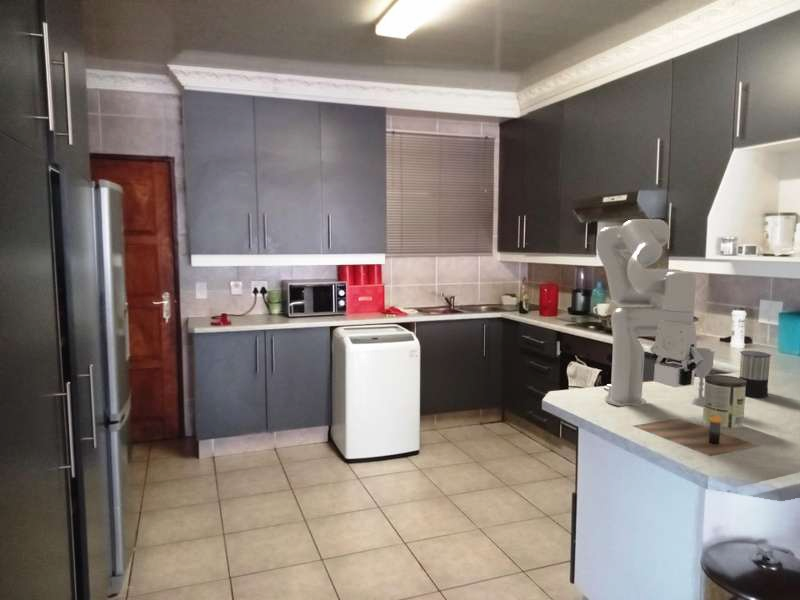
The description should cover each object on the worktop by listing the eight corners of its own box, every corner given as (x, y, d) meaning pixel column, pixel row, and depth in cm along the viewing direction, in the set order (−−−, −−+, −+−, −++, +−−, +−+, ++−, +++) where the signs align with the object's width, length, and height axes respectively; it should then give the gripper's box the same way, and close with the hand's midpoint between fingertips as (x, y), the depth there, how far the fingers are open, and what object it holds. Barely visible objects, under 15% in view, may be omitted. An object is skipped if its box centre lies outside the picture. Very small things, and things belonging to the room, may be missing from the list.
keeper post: (705, 441, 143) (707, 413, 143) (712, 440, 144) (714, 412, 144) (715, 445, 141) (717, 416, 140) (722, 443, 142) (724, 415, 141)
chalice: (698, 407, 179) (702, 352, 177) (682, 401, 186) (686, 348, 184) (717, 406, 181) (721, 351, 179) (700, 400, 188) (704, 347, 186)
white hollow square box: (653, 381, 155) (654, 363, 155) (672, 379, 158) (673, 361, 157) (675, 387, 149) (676, 368, 148) (693, 385, 152) (695, 366, 151)
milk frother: (772, 399, 190) (776, 356, 189) (722, 396, 193) (725, 353, 192) (755, 388, 204) (758, 348, 203) (708, 386, 207) (711, 346, 206)
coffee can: (706, 419, 167) (709, 372, 166) (746, 426, 160) (750, 378, 159) (697, 427, 160) (700, 378, 158) (738, 435, 153) (742, 385, 151)
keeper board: (632, 430, 156) (632, 425, 155) (678, 423, 163) (678, 418, 163) (710, 462, 134) (710, 455, 134) (759, 451, 141) (760, 445, 141)
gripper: (642, 313, 158) (638, 375, 160) (696, 322, 142) (691, 390, 144) (661, 312, 161) (657, 373, 163) (716, 320, 145) (712, 388, 147)
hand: (673, 380), depth 153 cm, fingers closed on white hollow square box, 7 cm apart
